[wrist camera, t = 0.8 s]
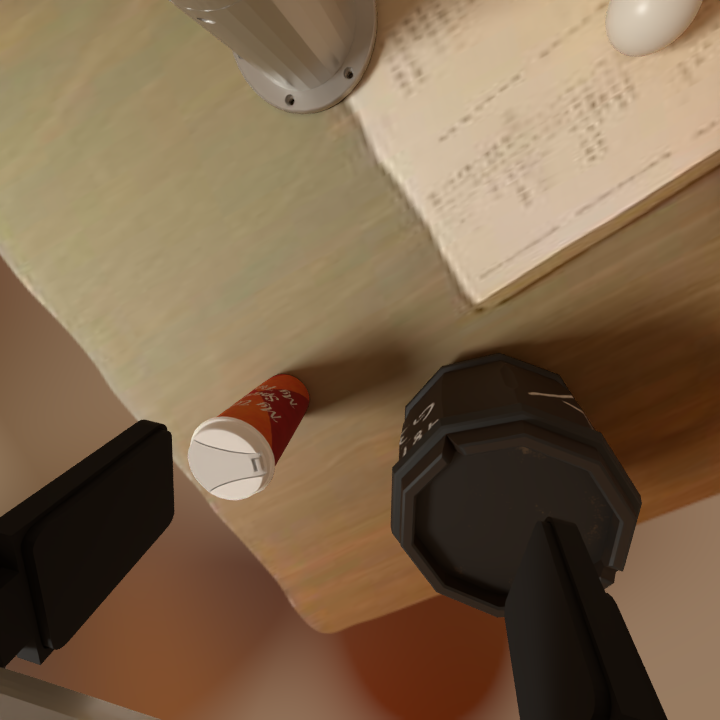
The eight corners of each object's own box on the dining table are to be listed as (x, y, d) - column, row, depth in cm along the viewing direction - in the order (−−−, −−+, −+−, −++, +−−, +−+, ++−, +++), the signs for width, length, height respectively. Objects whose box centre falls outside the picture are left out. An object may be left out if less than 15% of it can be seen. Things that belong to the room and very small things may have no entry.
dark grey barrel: (569, 509, 44) (631, 654, 29) (403, 489, 47) (385, 610, 33) (602, 351, 38) (699, 433, 24) (409, 340, 41) (390, 407, 27)
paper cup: (311, 362, 44) (256, 422, 31) (324, 425, 47) (277, 505, 34) (246, 367, 46) (168, 426, 33) (261, 428, 48) (194, 505, 35)
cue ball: (578, 31, 31) (604, -5, 26) (644, -43, 29) (686, -99, 24) (627, 84, 31) (662, 59, 26) (695, 15, 29) (747, -27, 24)
